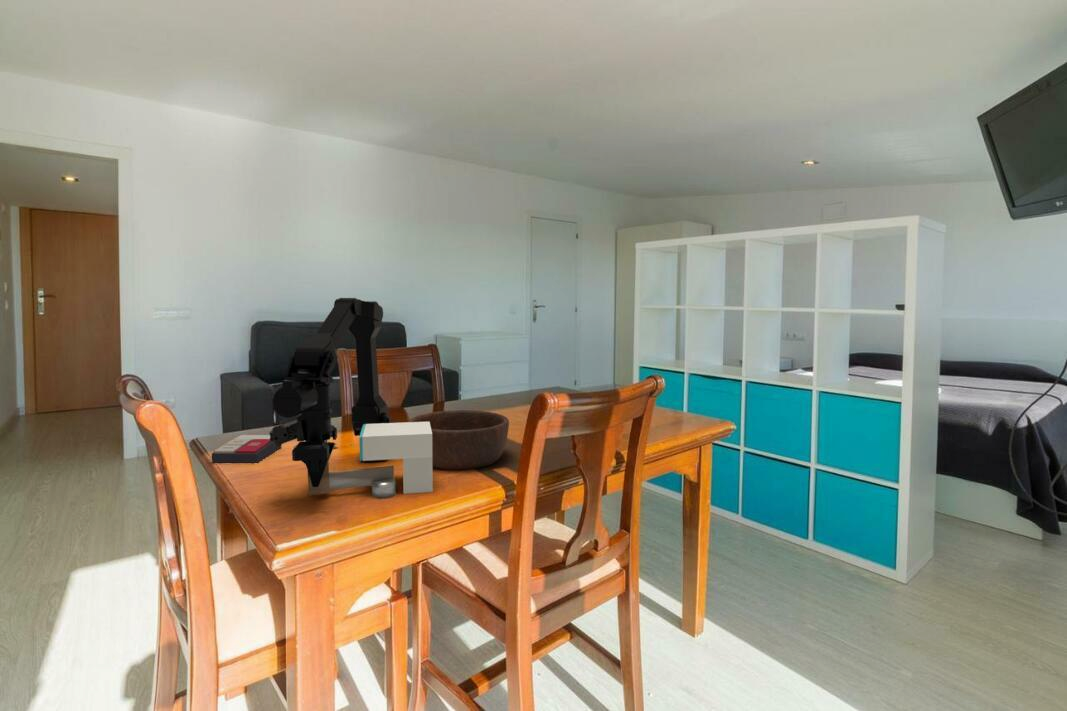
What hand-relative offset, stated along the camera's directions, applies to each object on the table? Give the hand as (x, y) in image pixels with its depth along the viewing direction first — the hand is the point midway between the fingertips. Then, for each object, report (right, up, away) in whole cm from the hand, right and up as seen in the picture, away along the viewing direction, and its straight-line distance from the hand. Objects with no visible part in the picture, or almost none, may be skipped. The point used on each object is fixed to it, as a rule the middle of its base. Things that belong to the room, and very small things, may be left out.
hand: (317, 483), depth 118 cm
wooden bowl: (+25, -1, +29) cm, 39 cm away
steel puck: (+13, -3, +2) cm, 13 cm away
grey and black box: (-29, 0, +31) cm, 42 cm away
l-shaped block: (+15, -2, +8) cm, 17 cm away
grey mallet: (+6, -1, +3) cm, 7 cm away
